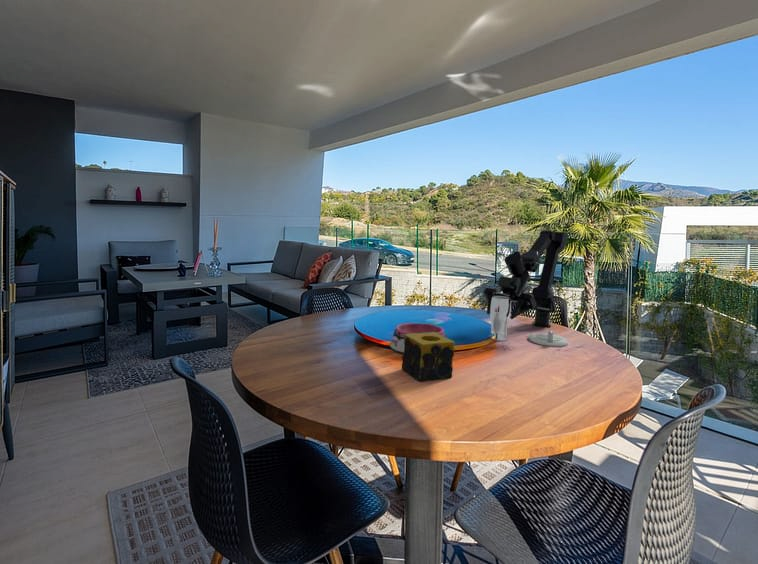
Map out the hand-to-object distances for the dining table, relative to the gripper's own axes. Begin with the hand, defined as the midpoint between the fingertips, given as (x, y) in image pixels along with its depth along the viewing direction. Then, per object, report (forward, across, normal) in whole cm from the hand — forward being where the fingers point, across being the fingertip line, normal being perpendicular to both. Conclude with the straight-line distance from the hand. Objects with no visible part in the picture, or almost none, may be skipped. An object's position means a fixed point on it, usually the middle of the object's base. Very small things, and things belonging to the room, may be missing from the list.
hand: (499, 316), depth 147 cm
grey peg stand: (-3, +13, +15) cm, 20 cm away
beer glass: (+6, 0, +6) cm, 9 cm away
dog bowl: (+28, -10, -16) cm, 34 cm away
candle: (+40, +7, -27) cm, 49 cm away
